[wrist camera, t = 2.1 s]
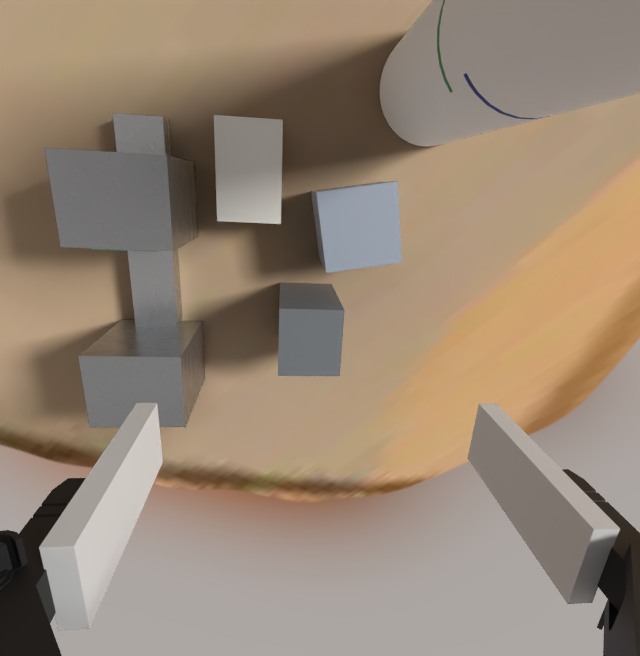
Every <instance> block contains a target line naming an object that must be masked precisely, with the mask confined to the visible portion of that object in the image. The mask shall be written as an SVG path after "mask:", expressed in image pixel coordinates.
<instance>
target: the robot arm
mask: <svg viewBox="0 0 640 656" xmlns="http://www.w3.org/2000/svg"><path fill="white" fill-rule="evenodd" d="M468 459H469V461H470V462H471V464H472V465H473V467H474V468H475V470H476V471H477V473H478V474H479V476H480V477H481V478H482V480H483V481H484V483H485V484H486V486H487V487H488V488H489V490H490V491H491V493H492V494H493V496H494V497H495V499H496V500H497V502H498V503H499V505H500V506H501V508H502V509H503V510H504V512H505V513H506V515H507V516H508V518H509V519H510V521H511V522H512V523H513V525H514V526H515V528H516V529H517V531H518V532H519V534H520V535H521V537H522V538H523V540H524V541H525V542H526V544H527V545H528V547H529V548H530V550H531V551H532V553H533V554H534V556H535V557H536V559H537V560H538V561H539V563H540V564H541V566H542V567H543V569H544V570H545V572H546V573H547V575H548V576H549V577H550V579H551V580H552V582H553V583H554V585H555V586H556V588H557V589H558V590H559V592H560V593H561V595H562V596H563V598H564V599H565V601H566V602H567V604H574V603H592V602H593V599H594V596H595V594H596V591H597V588H598V587H599V588H600V589H601V591H602V592H603V593H604V594H605V596H606V597H607V598H608V601H607V603H606V606H605V609H604V611H603V614H602V616H601V618H600V621H599V624H598V626H597V628H599V629H602V628H603V626H604V651H603V653H604V655H603V656H640V533H639V532H638V531H637V530H636V529H635V528H634V527H633V526H632V525H631V524H630V523H629V522H628V521H627V520H625V519H624V517H622V516H621V515H620V514H619V513H618V512H617V511H616V510H615V509H614V508H613V507H612V506H611V505H610V504H609V503H608V502H606V501H605V499H604V498H603V497H602V496H601V495H600V494H599V493H596V491H595V489H593V488H592V487H591V486H590V485H589V484H588V483H587V482H586V481H585V480H584V479H583V478H581V477H579V476H578V475H576V474H575V473H573V472H571V471H570V470H568V469H565V470H562V469H561V468H559V466H558V465H556V464H555V462H553V460H552V459H550V457H549V456H548V455H546V453H545V452H544V451H543V450H541V448H540V447H539V446H538V445H537V444H536V443H535V442H534V441H533V440H532V439H531V438H530V437H529V436H528V435H527V434H526V433H525V432H524V431H523V430H522V429H521V428H520V427H519V426H518V425H517V424H516V423H515V422H514V421H513V420H512V419H511V418H510V417H509V416H508V415H507V414H506V413H505V412H504V411H503V410H502V409H501V408H500V407H499V406H498V405H497V404H479V406H478V411H477V415H476V420H475V425H474V430H473V435H472V440H471V445H470V449H469V454H468ZM162 462H163V461H162V450H161V439H160V428H159V416H158V405H157V403H136V405H135V406H134V408H133V409H132V411H131V412H130V414H129V415H128V417H127V418H126V420H125V421H124V423H123V424H122V426H121V427H120V429H119V430H118V431H117V433H116V434H115V436H114V437H113V439H112V440H111V442H110V443H109V445H108V446H107V448H106V449H105V451H104V452H103V454H102V455H101V457H100V458H99V460H98V461H97V462H96V464H95V465H94V467H93V468H92V470H91V471H90V473H89V474H88V476H87V477H86V478H70V479H67V480H66V481H64V482H63V483H61V484H60V485H59V486H57V487H56V488H55V489H53V490H52V491H51V493H50V494H49V495H48V496H47V498H46V499H45V500H44V502H43V503H42V506H41V507H39V508H38V510H37V511H36V513H35V514H34V515H33V518H31V519H30V520H29V521H28V523H27V524H26V525H25V527H24V528H23V529H22V531H21V532H20V533H19V534H18V533H17V532H13V531H9V530H7V531H0V656H61V653H60V650H59V648H58V645H57V642H56V639H55V637H54V634H53V631H52V628H51V625H50V622H51V620H52V619H53V616H54V615H55V619H56V624H57V628H58V631H59V630H78V629H90V627H91V625H92V623H93V620H94V618H95V616H96V613H97V611H98V609H99V606H100V604H101V602H102V600H103V597H104V595H105V593H106V590H107V588H108V586H109V584H110V581H111V579H112V577H113V575H114V572H115V570H116V567H117V565H118V563H119V561H120V558H121V556H122V554H123V552H124V549H125V547H126V545H127V542H128V540H129V538H130V536H131V533H132V531H133V529H134V526H135V524H136V522H137V520H138V517H139V515H140V513H141V510H142V508H143V506H144V504H145V501H146V499H147V497H148V494H149V492H150V490H151V487H152V485H153V483H154V481H155V478H156V476H157V474H158V471H159V469H160V467H161V465H162Z"/></svg>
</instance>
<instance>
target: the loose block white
mask: <svg viewBox="0 0 640 656" xmlns="http://www.w3.org/2000/svg"><path fill="white" fill-rule="evenodd" d="M214 140H215V170H216V201H217V221H225V222H247V223H270V224H281V198H282V143H283V120H280V119H266V118H252V117H237V116H223V115H214Z"/></svg>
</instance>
